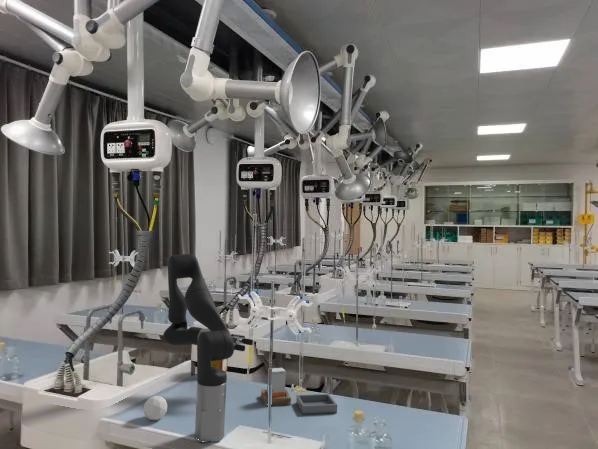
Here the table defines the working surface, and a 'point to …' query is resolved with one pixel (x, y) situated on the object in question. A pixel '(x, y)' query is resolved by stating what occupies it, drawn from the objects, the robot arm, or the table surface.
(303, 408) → the tray
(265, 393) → the socket block
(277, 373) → the skincare box
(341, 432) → the table surface
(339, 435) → the table surface
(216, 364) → the baking soda box
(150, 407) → the geometric ball
